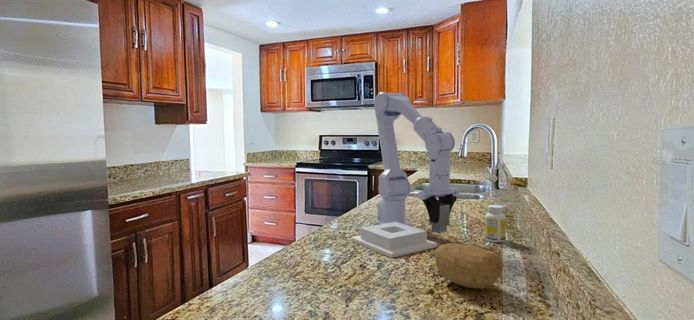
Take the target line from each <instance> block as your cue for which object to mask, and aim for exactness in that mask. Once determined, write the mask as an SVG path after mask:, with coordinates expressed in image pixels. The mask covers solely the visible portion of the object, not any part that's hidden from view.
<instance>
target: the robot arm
mask: <svg viewBox="0 0 694 320" xmlns="http://www.w3.org/2000/svg"><path fill="white" fill-rule="evenodd" d="M373 105H374V113H375V119H376V126H377V132H378V138H379V144H380V145H379V146H380V150H381V158H382V164H383V165H382V166H383V170H384V171H383V172H382V173H381V174H380V175H379V176H378V187H377V189H378V194H379V195H380V199H379V200H378V202H377V220H376V221H375V224H377V225H380V224H385V223H391V222H399V223H402V224H405V225H409V226H412V223H409V222H406V199H407V198H408V196H409V194H410V193H411V189H412V188H411V183H410V181H409V178H408V175H407V172H405V171H404V170H403V169H401V165H400V159H399V154H398V146H397V140H396V139H397V138H396V135H395V134H396V133H395V128H394V127H395V126H394V122H395V121H396V120H398V118H400V116H401V115H402V116H404V118H405V119H406V120H408V121H409V122H410V123H411V124H412V125H413V131H414V133H416V134H417V135H418V137H420V138H421V139H422V140H423V142H424V146H425V149H426V151H427V158H428V159H429V177H428V178H429V183H428V184H429V188H428V189H425V190H423V191H422V190H420V191H418V199H420V200H422V202H423V204H424V207H425V208H426V211H427V215H428V219H429V218H430V222H432V223H437V221H438V210H439V206H440V203H445V204H450V211H449V217H451V211H452V210H453V206H454V204H455V203H456V201H457V196H458V195H460V187H454V186H452V187H451V152H452V151H453V150H454V148H455V145H456V141H455V138H454V135H452V133H451V132H448V131H446V132H445V131H443V129H442V127H439V126H438V125H437V124H436V123H435V122H434V121H433V118H432V117H431V116H426V115H424V116H422V115H421V114H420V112H419V111H418V110H417V109H416V107H415V106H414V105H413V104H412V103H411V102H410V98H409V96H407V95H406V94H405V93H403V92H400V93H399V92H397V93H396V92H385V91H381V92H379V93H377V95H376V96H375V99H374V101H373Z"/></svg>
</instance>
